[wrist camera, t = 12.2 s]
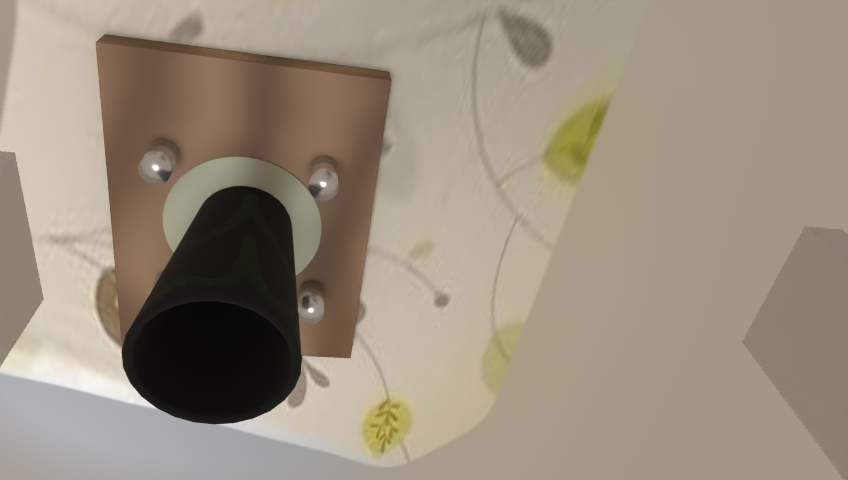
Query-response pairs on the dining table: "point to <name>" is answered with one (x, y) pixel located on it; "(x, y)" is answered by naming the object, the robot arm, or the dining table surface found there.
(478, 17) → the dining table surface
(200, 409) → the cup
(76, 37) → the dining table surface
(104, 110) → the stub board
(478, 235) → the dining table surface
